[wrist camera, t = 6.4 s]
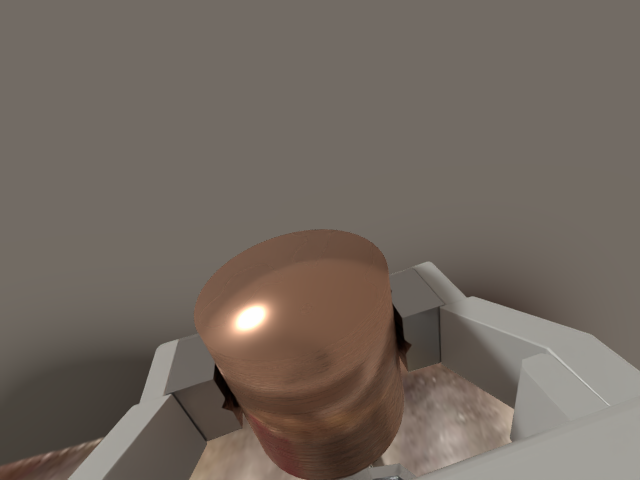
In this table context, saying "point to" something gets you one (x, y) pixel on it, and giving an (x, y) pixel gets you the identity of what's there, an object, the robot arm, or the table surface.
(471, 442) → the table surface
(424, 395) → the table surface
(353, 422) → the plunger
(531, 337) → the robot arm
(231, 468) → the table surface
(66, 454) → the table surface
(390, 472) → the press
